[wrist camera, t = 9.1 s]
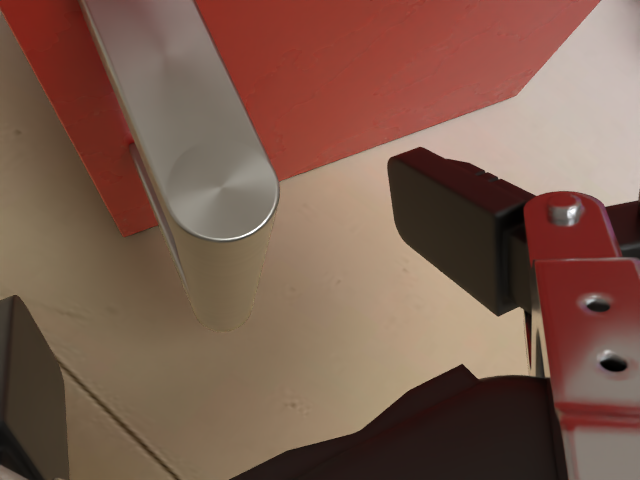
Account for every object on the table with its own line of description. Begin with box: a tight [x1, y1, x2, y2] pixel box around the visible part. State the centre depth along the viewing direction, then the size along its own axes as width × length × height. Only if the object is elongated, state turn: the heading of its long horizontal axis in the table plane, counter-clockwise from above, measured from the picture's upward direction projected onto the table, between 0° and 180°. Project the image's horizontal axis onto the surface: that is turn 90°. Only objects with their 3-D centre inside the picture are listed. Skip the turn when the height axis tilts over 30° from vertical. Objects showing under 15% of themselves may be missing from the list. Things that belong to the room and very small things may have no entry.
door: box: [0, 0, 601, 332], centre depth 15 cm, size 6×18×16 cm, turn 115°
